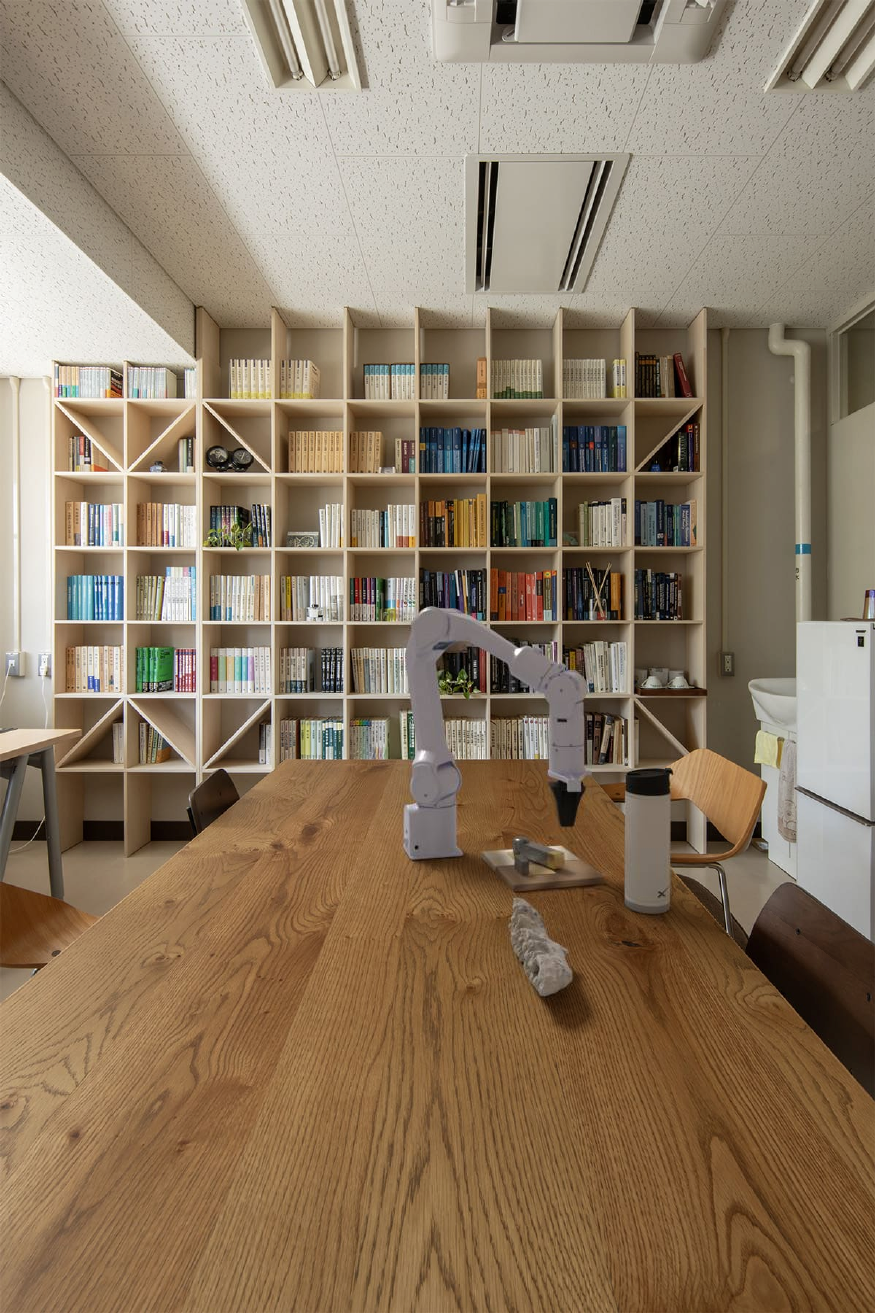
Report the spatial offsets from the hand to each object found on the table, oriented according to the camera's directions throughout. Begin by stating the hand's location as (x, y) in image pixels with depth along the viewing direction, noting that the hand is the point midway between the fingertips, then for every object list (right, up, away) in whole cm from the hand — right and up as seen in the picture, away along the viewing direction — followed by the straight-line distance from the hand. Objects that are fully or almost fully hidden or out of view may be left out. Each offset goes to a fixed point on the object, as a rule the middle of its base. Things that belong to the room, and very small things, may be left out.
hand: (566, 825), depth 116 cm
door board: (-4, -8, +1) cm, 9 cm away
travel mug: (+9, -8, -15) cm, 19 cm away
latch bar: (-5, -6, +2) cm, 8 cm away
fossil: (-9, -9, -33) cm, 36 cm away
